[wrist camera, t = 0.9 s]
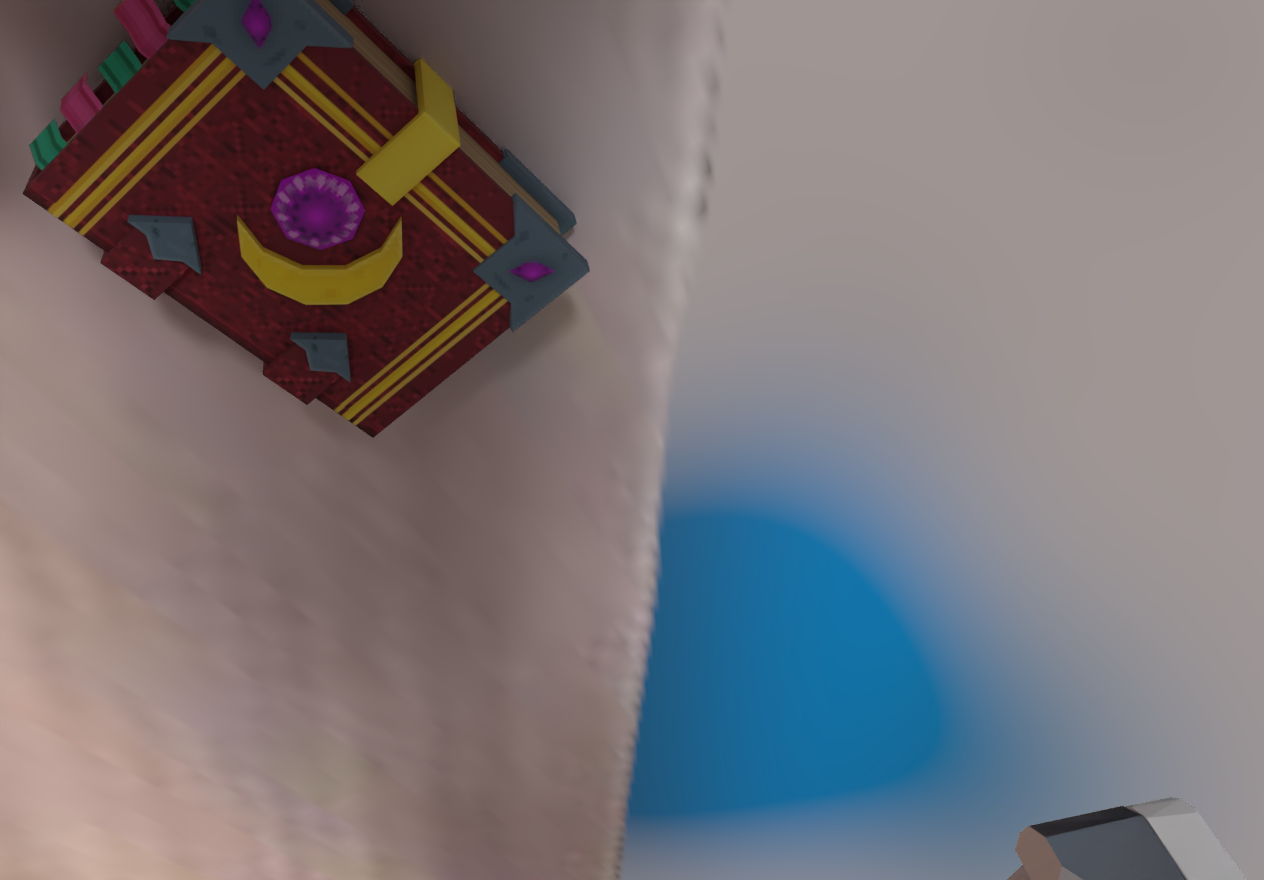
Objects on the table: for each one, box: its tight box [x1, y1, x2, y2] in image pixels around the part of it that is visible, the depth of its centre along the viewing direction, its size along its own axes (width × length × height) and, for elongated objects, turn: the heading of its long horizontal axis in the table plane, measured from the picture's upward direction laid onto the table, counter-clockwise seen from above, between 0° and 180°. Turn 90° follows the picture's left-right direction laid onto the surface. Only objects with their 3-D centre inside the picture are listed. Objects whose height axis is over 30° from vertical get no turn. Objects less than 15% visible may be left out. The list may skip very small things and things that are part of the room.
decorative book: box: [23, 0, 590, 437], centre depth 40 cm, size 11×16×5 cm
